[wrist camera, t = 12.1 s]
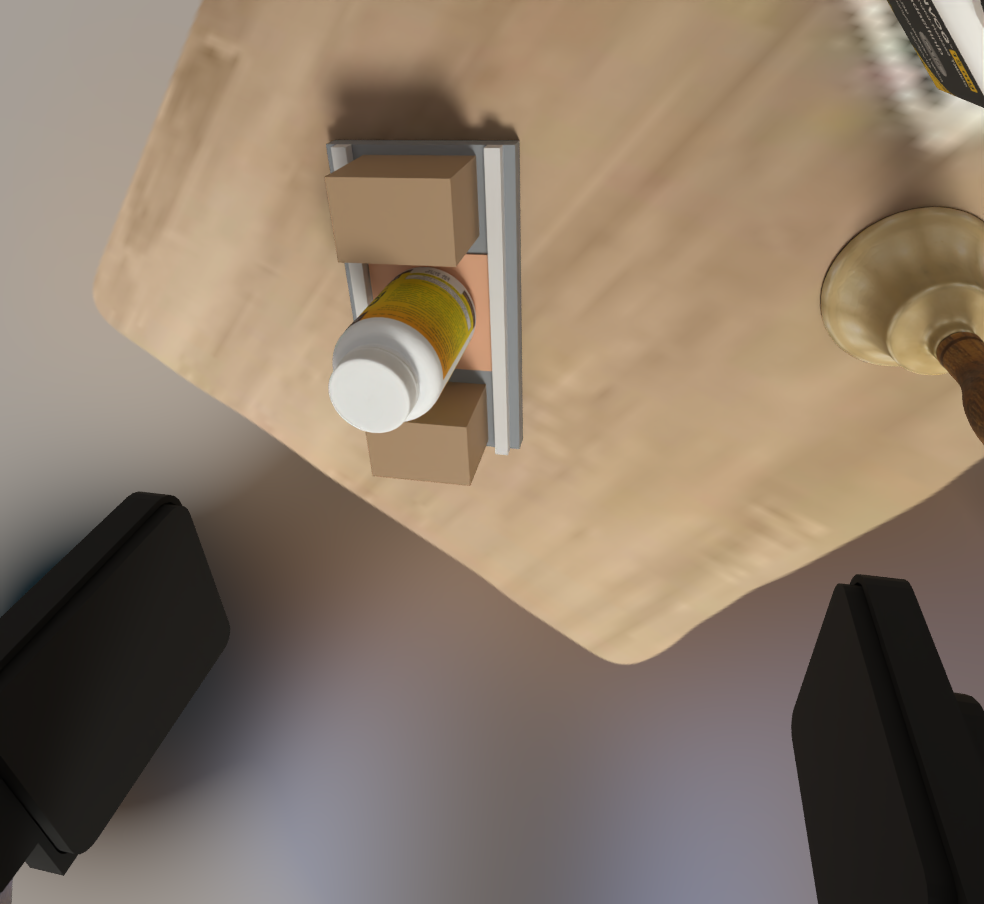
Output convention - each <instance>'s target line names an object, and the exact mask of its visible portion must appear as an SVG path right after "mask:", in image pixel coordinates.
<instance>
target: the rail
mask: <svg viewBox="0 0 984 904" xmlns="http://www.w3.org/2000/svg"><path fill="white" fill-rule="evenodd" d="M326 147H327V154H328V160H329V166H330V173H331V174H329V175H327V176H325V177H324V178H325V184H326V190H327V196H328V202H329V209H330V215H331V221H332V227H333V233H334V240H335V246H336V252H337V258H338V262H341V263H345V269H346V275H347V282H348V288H349V294H350V301H351V307H352V314H353V320H354V321H355V320H356V319H357V318H358V316H359V315H360V314H361V313H362V312H363V311H364V310H365V309H366V308H367V307H368V306H369V305H370V303H371V302H372V301H373V300H374V299H375V298H376V297H377V296H378V295H379V294H380V293H381V291H382V290H383V289H384V288H385V287H386V286H387V285H388V284H389V283H390V282H391V281H392V280H393V279H394V278H395V277H396V276H398V275H399V274H400V273H402V272H404V271H406V270H408V269H412V268H416V267H431V268H436V269H439V270H442V271H444V272H447V273H448V274H450V275H452V276H453V277H455V278H456V279H457V280H458V281H459V282H460V283H461V284H462V285H463V286H464V287H465V288H466V290H467V291H468V293H469V294H470V296H471V298H472V301H473V304H474V307H475V312H476V325H475V330H474V333H473V336H472V338H471V340H470V342H469V344H468V346H467V348H466V350H465V351H464V353H463V355H462V357H461V359H460V360H459V362H458V364H457V366H456V368H455V369H454V371H453V373H452V375H451V377H450V379H449V380H448V382H447V384H446V386H445V387H444V389H443V391H442V393H441V394H440V396H439V398H438V400H437V401H436V402H435V404H434V405H433V406H432V408H431V409H430V410H429V411H427V412H426V413H425V414H423V415H422V416H420V417H418V418H416V419H413V420H410V421H406V422H403V424H401V425H400V426H399V427H398V428H396V429H394V430H392V431H389V432H385V433H371V432H366V431H365V432H366V438H367V444H368V450H369V456H370V462H371V469H372V475H373V476H378V477H387V478H397V479H407V480H417V481H427V482H436V483H446V484H456V485H466V486H470V485H471V483H472V480H473V478H474V475H475V473H476V470H477V467H478V465H479V462H480V460H481V457H482V455H483V452H484V450H485V447H486V446H492V447H495V454H502V455H508V453H509V450H510V448H514V449H520V446H521V443H522V440H523V416H522V327H521V238H520V149H519V140H334V141H332V142H330V143H328V144H326Z"/></svg>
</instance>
